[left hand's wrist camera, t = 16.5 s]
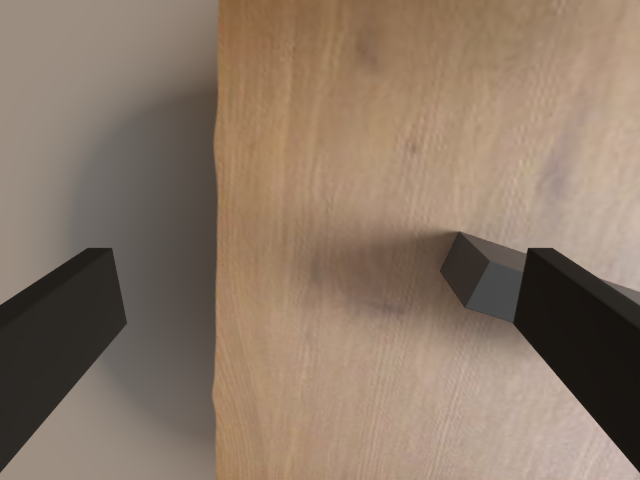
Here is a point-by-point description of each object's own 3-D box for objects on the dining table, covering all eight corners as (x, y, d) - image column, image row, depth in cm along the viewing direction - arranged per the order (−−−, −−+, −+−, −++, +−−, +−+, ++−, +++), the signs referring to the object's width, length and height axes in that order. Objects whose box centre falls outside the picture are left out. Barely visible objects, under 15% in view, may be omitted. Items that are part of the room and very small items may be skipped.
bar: (439, 271, 45) (464, 307, 37) (459, 231, 44) (489, 260, 36) (630, 332, 48) (690, 378, 40) (656, 297, 47) (724, 338, 39)
